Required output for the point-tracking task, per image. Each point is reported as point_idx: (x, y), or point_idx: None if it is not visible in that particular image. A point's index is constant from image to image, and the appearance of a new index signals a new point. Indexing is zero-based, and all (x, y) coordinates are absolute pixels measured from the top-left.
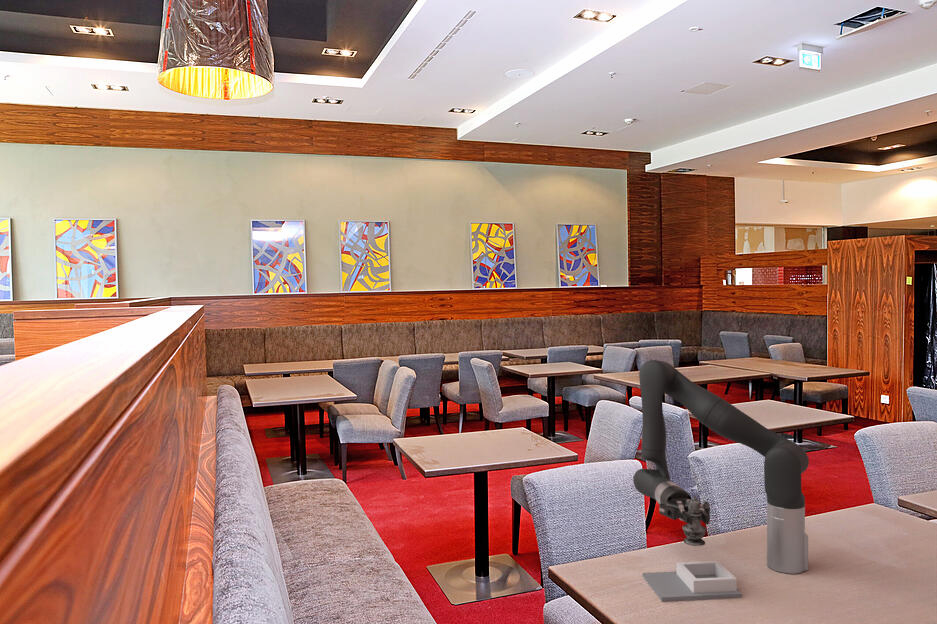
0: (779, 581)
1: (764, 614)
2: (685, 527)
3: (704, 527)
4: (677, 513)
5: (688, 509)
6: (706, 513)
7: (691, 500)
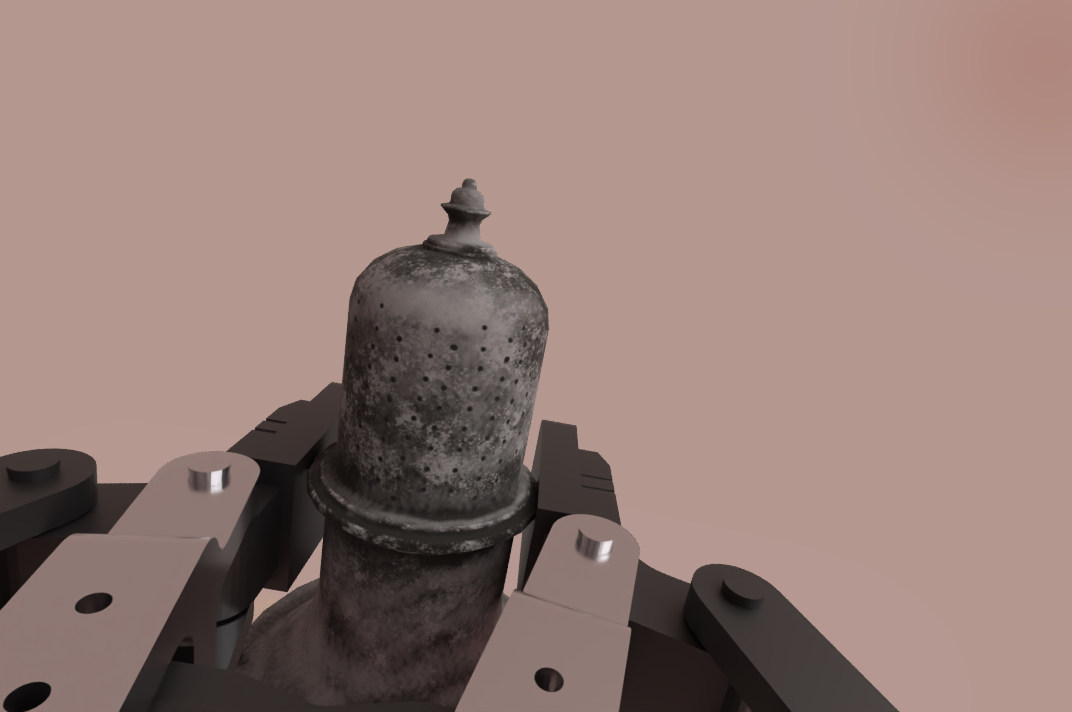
0: None
1: (261, 609)
2: None
3: (257, 634)
4: (676, 594)
5: (523, 448)
6: (233, 448)
7: (519, 271)
